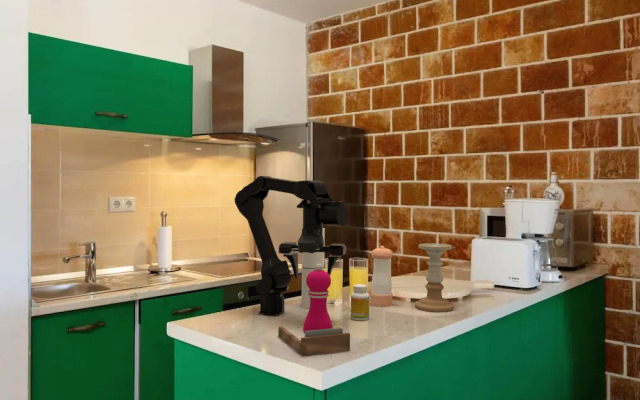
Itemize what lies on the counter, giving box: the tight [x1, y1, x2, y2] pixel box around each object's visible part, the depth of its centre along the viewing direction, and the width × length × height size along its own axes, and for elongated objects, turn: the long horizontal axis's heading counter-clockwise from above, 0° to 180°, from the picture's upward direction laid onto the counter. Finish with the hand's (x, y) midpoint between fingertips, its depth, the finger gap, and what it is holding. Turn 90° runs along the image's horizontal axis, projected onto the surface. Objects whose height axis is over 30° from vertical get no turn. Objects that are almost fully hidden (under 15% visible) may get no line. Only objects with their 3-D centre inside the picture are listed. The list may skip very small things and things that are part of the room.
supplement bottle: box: [350, 283, 370, 321], centre depth 160 cm, size 5×5×10 cm
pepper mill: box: [302, 264, 334, 334], centre depth 132 cm, size 7×7×20 cm
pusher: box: [304, 327, 344, 337], centre depth 128 cm, size 1×9×5 cm, turn 113°
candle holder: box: [414, 242, 455, 313], centre depth 174 cm, size 12×12×20 cm
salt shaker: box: [369, 245, 394, 307], centre depth 179 cm, size 7×7×19 cm
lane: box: [277, 325, 351, 357], centre depth 134 cm, size 18×12×4 cm
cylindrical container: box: [301, 227, 326, 310], centre depth 175 cm, size 7×7×25 cm
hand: (312, 278), depth 156 cm, fingers open, 9 cm apart
